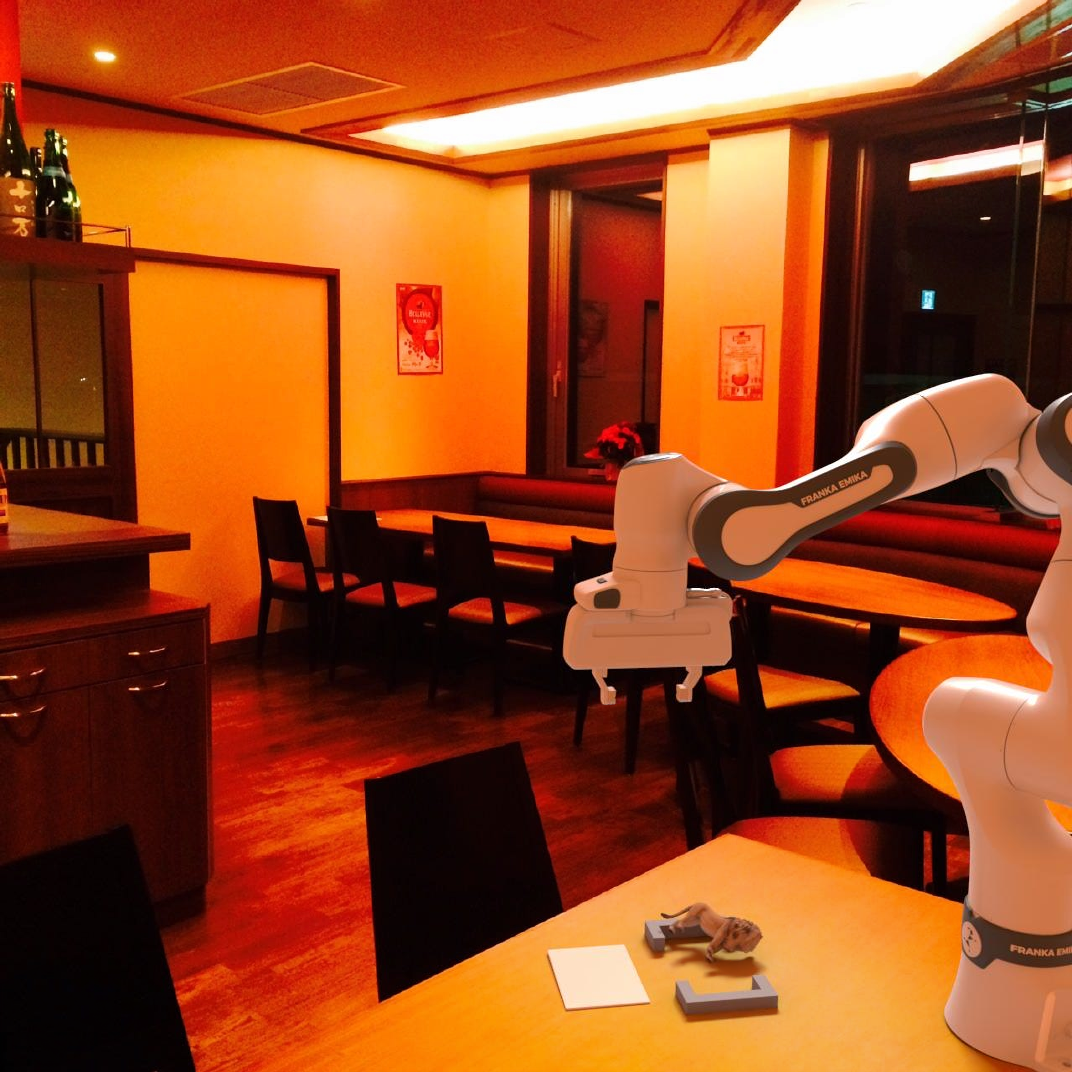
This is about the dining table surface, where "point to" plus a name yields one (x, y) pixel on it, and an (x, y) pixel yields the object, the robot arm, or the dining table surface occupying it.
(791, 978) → the dining table surface
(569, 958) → the ceramic tile
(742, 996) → the grey bracket pair
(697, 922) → the lion figurine
